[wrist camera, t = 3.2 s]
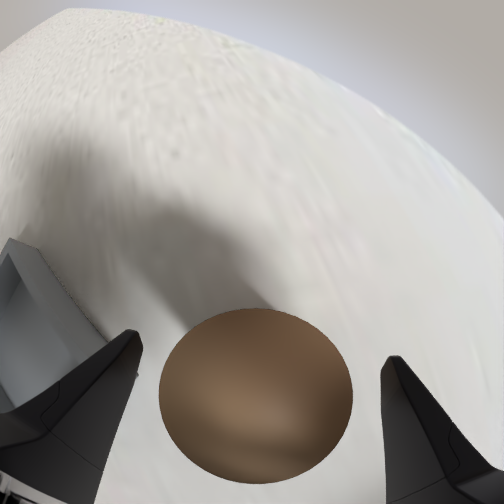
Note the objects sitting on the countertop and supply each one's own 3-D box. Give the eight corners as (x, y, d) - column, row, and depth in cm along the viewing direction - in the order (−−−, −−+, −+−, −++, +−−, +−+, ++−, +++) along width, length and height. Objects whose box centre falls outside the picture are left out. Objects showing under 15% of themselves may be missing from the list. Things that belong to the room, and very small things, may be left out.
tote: (63, 470, 14) (39, 484, 11) (-16, 355, 17) (-41, 354, 13) (138, 375, 16) (111, 383, 13) (37, 249, 19) (9, 237, 15)
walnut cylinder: (269, 413, 15) (267, 508, 6) (204, 363, 16) (126, 405, 7) (323, 350, 16) (389, 382, 6) (257, 299, 17) (238, 267, 7)
